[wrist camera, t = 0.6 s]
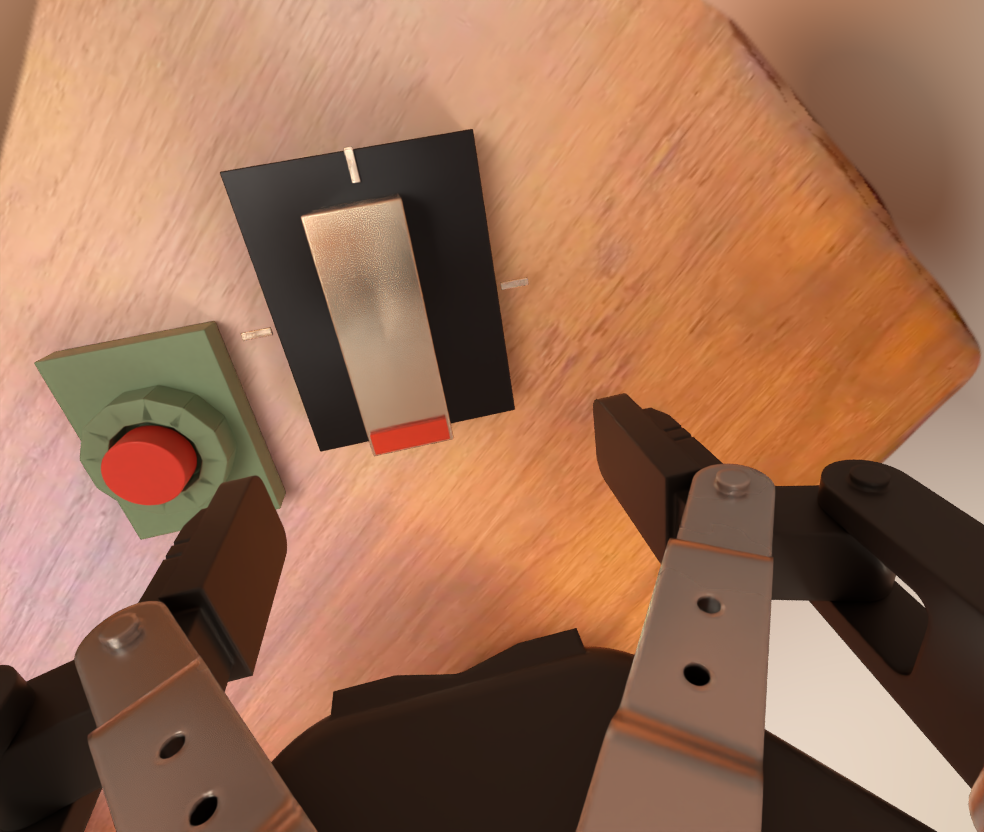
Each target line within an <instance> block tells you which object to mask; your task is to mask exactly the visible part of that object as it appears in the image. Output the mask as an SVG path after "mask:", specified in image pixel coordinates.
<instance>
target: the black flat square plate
mask: <svg viewBox="0 0 984 832" xmlns="http://www.w3.org/2000/svg"><path fill="white" fill-rule="evenodd" d="M220 175H221V177H222V180H223V183H224V186H225V188H226V191H227V194H228V197H229V199H230V202H231V205H232V208H233V211H234V213H235V216H236V219H237V222H238V224H239V227H240V230H241V233H242V236H243V238H244V241H245V244H246V247H247V249H248V252H249V255H250V258H251V261H252V263H253V266H254V269H255V272H256V274H257V277H258V280H259V283H260V285H261V288H262V291H263V294H264V297H265V299H266V302H267V305H268V308H269V310H270V313H271V316H272V319H273V322H274V324H275V327H276V330H277V333H278V335H279V338H280V341H281V344H282V347H283V349H284V352H285V355H286V358H287V360H288V363H289V366H290V369H291V371H292V374H293V377H294V380H295V383H296V385H297V388H298V391H299V394H300V396H301V399H302V402H303V405H304V408H305V410H306V413H307V416H308V419H309V421H310V424H311V427H312V430H313V433H314V435H315V438H316V441H317V444H318V446H319V449H320V451H326V450H330V449H335V448H340V447H344V446H349V445H353V444H358V443H363V442H367V441H369V439H368V436H367V433H366V430H365V426H364V423H363V420H362V417H361V413H360V410H359V407H358V403H357V400H356V397H355V394H354V390H353V387H352V384H351V381H350V377H349V374H348V371H347V368H346V364H345V361H344V358H343V354H342V351H341V348H340V345H339V341H338V338H337V335H336V332H335V328H334V325H333V322H332V319H331V315H330V312H329V309H328V305H327V302H326V299H325V296H324V292H323V289H322V286H321V283H320V279H319V276H318V273H317V270H316V266H315V263H314V260H313V256H312V253H311V250H310V247H309V243H308V240H307V237H306V234H305V230H304V227H303V224H302V221H301V216H303V215H305V214H307V213H309V212H311V211H314V210H316V209H318V208H320V207H322V206H328V205H334V204H339V203H345V202H350V201H356V200H362V199H367V198H373V197H379V196H384V195H390V194H395V193H401V196H402V201H403V206H404V210H405V215H406V219H407V224H408V229H409V233H410V238H411V242H412V247H413V252H414V256H415V261H416V265H417V270H418V275H419V279H420V284H421V288H422V293H423V298H424V302H425V307H426V311H427V316H428V321H429V325H430V330H431V334H432V339H433V343H434V348H435V353H436V357H437V362H438V366H439V371H440V376H441V380H442V385H443V389H444V394H445V399H446V404H447V408H448V413H449V418H450V423H455V422H460V421H464V420H469V419H474V418H478V417H483V416H488V415H492V414H497V413H501V412H506V411H511V410H515V406H514V399H513V393H512V386H511V379H510V373H509V366H508V359H507V353H506V346H505V339H504V333H503V326H502V319H501V313H500V306H499V300H498V293H497V286H496V280H495V273H494V266H493V260H492V253H491V246H490V240H489V233H488V226H487V220H486V213H485V206H484V200H483V193H482V186H481V180H480V173H479V167H478V160H477V153H476V147H475V140H474V133H473V129H469V130H463V131H458V132H452V133H446V134H440V135H434V136H428V137H422V138H416V139H410V140H405V141H399V142H393V143H387V144H381V145H375V146H369V147H363V148H357V149H353V148H352V147H346V148H344V151H340V152H334V153H328V154H322V155H316V156H310V157H304V158H299V159H293V160H287V161H281V162H275V163H269V164H263V165H257V166H251V167H246V168H240V169H234V170H228V171H222V172H220ZM500 285H501V290H504V289H509V288H515V287H520V286H525V285H529V284H528V278H527V277H525V278H520V279H515V280H510V281H505V282H500ZM270 335H273V332H272V330H271V327H269V328H264V329H259V330H254V331H249V332H244V333H241V336H242V339H243V341H245V340H250V339H255V338H260V337H265V336H270Z"/></svg>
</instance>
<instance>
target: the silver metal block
mask: <svg viewBox="0 0 984 832" xmlns="http://www.w3.org/2000/svg"><path fill="white" fill-rule="evenodd" d="M301 221H302V224H303V227H304V230H305V234H306V237H307V240H308V243H309V247H310V250H311V253H312V256H313V260H314V263H315V266H316V270H317V273H318V276H319V279H320V283H321V286H322V289H323V292H324V296H325V299H326V302H327V305H328V309H329V312H330V315H331V319H332V322H333V325H334V328H335V332H336V335H337V338H338V341H339V345H340V348H341V351H342V354H343V358H344V361H345V364H346V368H347V371H348V374H349V377H350V381H351V384H352V387H353V390H354V394H355V397H356V400H357V403H358V407H359V410H360V413H361V417H362V420H363V423H364V426H365V430H366V433H367V436H368V439H369V443H370V446H371V449H372V452H373V455H374V456H378V455H382V454H387V453H392V452H396V451H401V450H405V449H410V448H414V447H419V446H424V445H428V444H433V443H437V442H442V441H446V440H451V439H453V438H454V437H453V432H452V427H451V423H450V418H449V413H448V408H447V404H446V399H445V394H444V389H443V385H442V380H441V376H440V371H439V366H438V362H437V357H436V353H435V348H434V343H433V339H432V334H431V330H430V325H429V321H428V316H427V311H426V307H425V302H424V298H423V293H422V288H421V284H420V279H419V275H418V270H417V265H416V261H415V256H414V252H413V247H412V242H411V238H410V233H409V229H408V224H407V219H406V215H405V210H404V206H403V201H402V196H401V193H395V194H390V195H384V196H379V197H373V198H367V199H362V200H356V201H350V202H345V203H339V204H334V205H328V206H322V207H320V208H318V209H316V210H314V211H311V212H309V213H307V214H305V215H303V216H301Z"/></svg>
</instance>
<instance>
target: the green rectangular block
mask: <svg viewBox="0 0 984 832" xmlns="http://www.w3.org/2000/svg"><path fill="white" fill-rule="evenodd" d="M34 364H35V365H36V367H37V369H38V370H39V372H40V374H41V375H42V377H43V379H44V380H45V382H46V384H47V385H48V387H49V389H50V390H51V392H52V394H53V395H54V397H55V399H56V400H57V402H58V404H59V405H60V407H61V408H62V410H63V412H64V413H65V415H66V417H67V418H68V420H69V422H70V423H71V425H72V427H73V428H74V430H75V432H76V433H77V435H78V437H79V438H80V440H81V450H80V461H81V463H82V464H83V466H84V468H85V469H86V471H87V473H88V474H89V476H90V477H91V479H92V481H93V482H94V484H95V486H96V487H97V488H98V489H99V490H101V491H102V492H104V493H105V494H107V495H109V496H110V497H112V498H113V499H115V500H117V501H118V503H119V505H120V506H121V508H122V510H123V511H124V513H125V515H126V516H127V518H128V519H129V521H130V523H131V524H132V526H133V528H134V529H135V531H136V533H137V534H138V536H139V538H140V539H141V540H142V539H146V538H150V537H155V536H159V535H164V534H168V533H173V532H177V531H181V529H182V528H183V526H184V525H185V524H186V523H187V522H188V521H189V520H190V519H191V518H192V517H194V516H195V515H196V514H197V513H198V512H199V511H200V510H201V509H204V508H207V507H208V505H209V504H210V502H211V500H212V498H213V496H214V494H215V493H216V491H217V489H218V487H219V486H220V484H221V483H223V482H228V481H232V480H236V479H241V478H245V477H250V476H254V475H257V476H259V477H260V478H261V479H262V481H263V483H264V485H265V487H266V489H267V491H268V494H269V496H270V498H271V500H272V503H273V505H274V507H275V509H280V508H281V505H282V502H283V499H284V496H285V494H286V492H285V489H284V487H283V484H282V482H281V480H280V477H279V475H278V472H277V470H276V468H275V465H274V463H273V460H272V458H271V455H270V453H269V451H268V448H267V446H266V443H265V441H264V439H263V436H262V434H261V431H260V429H259V427H258V424H257V422H256V419H255V417H254V414H253V412H252V410H251V407H250V405H249V402H248V400H247V398H246V395H245V393H244V390H243V388H242V385H241V383H240V381H239V378H238V376H237V373H236V371H235V369H234V366H233V364H232V361H231V359H230V356H229V354H228V352H227V349H226V347H225V344H224V342H223V340H222V337H221V335H220V332H219V330H218V328H217V325H216V323H215V321H212V322H207V323H202V324H196V325H191V326H186V327H181V328H176V329H171V330H165V331H160V332H155V333H150V334H145V335H139V336H134V337H129V338H124V339H119V340H113V341H108V342H103V343H98V344H93V345H87V346H82V347H77V348H72V349H67V350H62V351H56V352H54V353H52V354H50V355H48V356H46V357H44V358H42V359H40V360H38V361H36V362H35V363H34ZM149 425H154V426H162V427H166V428H169V429H172V430H174V431H176V432H178V433H179V434H181V435H182V436H184V437H185V438H186V439H187V440H188V441H189V442H190V444H191V445H192V446H193V448H194V450H195V453H196V456H197V466H196V470H195V472H194V474H193V475H192V477H191V478H190V479H189V481H188V482H187V484H186V485H185V487H184V488H183V490H182V491H181V493H180V494H179V495H178V496H177V497H175V498H174V499H172V500H171V501H168V502H166V503H163V504H159V505H140V504H135V503H132V502H129V501H127V500H124V499H123V498H121V497H119V496H118V495H116V494H115V493H114V492H113V491H111V490H110V488H109V487H108V486H107V485H106V483H105V482H104V480H103V477H102V474H101V463H102V459H103V457H104V455H105V454H106V453H107V451H108V450H109V449H110V448H111V447H112V446H113V445H114V444H116V443H117V442H118V441H119V440H120V439H121V438H122V437H123V436H124V435H125V434H126V433H127V432H129V431H131V430H132V429H135V428H137V427H141V426H149Z"/></svg>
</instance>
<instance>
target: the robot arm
mask: <svg viewBox="0 0 984 832" xmlns="http://www.w3.org/2000/svg"><path fill="white" fill-rule="evenodd" d="M593 415H594V429H595V442H596V455H597V461H598V465H599V469H600V472H601V474H602V476H603V478H604V480H605V482H606V483H607V484H608V486H609V487H610V489H611V490H612V492H613V493H614V495H615V496H616V498H617V499H618V501H619V502H620V504H621V505H622V507H623V508H624V510H625V511H626V513H627V514H628V516H629V517H630V519H631V520H632V522H633V523H634V525H635V526H636V528H637V529H638V531H639V532H640V534H641V535H642V537H643V538H644V540H645V541H646V543H647V544H648V546H649V547H650V549H651V550H652V552H653V553H654V554H655V556H656V557H657V559H658V560H659V562H660V563H661V567H660V570H659V574H658V577H657V581H656V584H655V588H654V591H653V594H652V598H651V601H650V605H649V608H648V612H647V615H646V618H645V622H644V625H643V629H642V632H641V636H640V639H639V642H638V646H637V649H636V653H635V655H633V654H630V653H627V652H624V651H619V650H614V649H610V648H601V647H584V646H583V643H582V641H581V638H580V636H579V633H578V631H577V628H575V629H571V630H567V631H563V632H560V633H556V634H552V635H548V636H544V637H540V638H537V639H533V640H529V641H525V642H521V643H518V644H516V645H514V646H512V647H510V648H508V649H507V650H505V651H503V652H501V653H499V654H497V655H495V656H493V657H491V658H489V659H487V660H485V661H484V662H482V663H480V664H478V665H476V666H474V667H472V668H470V669H468V670H466V671H464V672H462V673H458V674H444V675H397V676H391V677H388V678H384V679H380V680H376V681H372V682H368V683H365V684H361V685H357V686H353V687H349V688H345V689H342V690H338V691H334V692H333V701H332V709H331V715H329V716H327V717H326V718H324V719H322V720H321V721H319V722H318V723H316V724H314V725H313V726H311V727H310V728H308V729H307V730H306V731H305V732H303V733H302V734H301V735H299V736H298V737H297V738H296V739H294V740H293V741H292V742H291V743H290V744H289V745H288V746H287V747H286V748H285V749H283V750H282V751H281V752H280V753H279V754H278V756H277V757H276V758H275V759H274V760H273V761H272V762H270V760H269V759H268V757H267V756H266V754H265V753H264V751H263V750H262V748H261V747H260V745H259V744H258V742H257V741H256V739H255V738H254V736H253V735H252V733H251V732H250V730H249V729H248V727H247V726H246V724H245V723H244V721H243V720H242V718H241V717H240V715H239V714H238V712H237V711H236V709H235V707H234V706H233V704H232V703H231V701H230V700H229V698H228V697H227V695H226V694H225V689H226V686H227V683H228V682H229V681H233V680H237V679H241V678H245V677H249V676H253V672H254V668H255V665H256V661H257V658H258V654H259V650H260V647H261V643H262V640H263V636H264V633H265V629H266V625H267V622H268V618H269V615H270V611H271V607H272V604H273V600H274V597H275V593H276V590H277V586H278V582H279V579H280V575H281V572H282V568H283V564H284V561H285V557H286V553H287V539H286V534H285V530H284V527H283V525H282V523H281V521H280V518H279V516H278V514H277V512H276V509H275V507H274V505H273V503H272V500H271V498H270V496H269V494H268V491H267V489H266V487H265V485H264V483H263V481H262V479H261V478H260V477H259V476H257V475H254V476H250V477H245V478H241V479H236V480H232V481H228V482H223V483H221V484H220V486H219V487H218V489H217V491H216V493H215V494H214V496H213V498H212V500H211V502H210V504H209V505H208V507H207V508H204V509H201V510H200V511H199V512H198V513H197V514H196V515H195V516H194V517H192V518H191V519H190V520H189V521H188V522H187V523H186V524H185V525H184V526H183V528H182V529H181V531H180V533H179V534H178V536H177V538H176V539H175V541H174V546H171V548H170V550H169V551H168V553H167V555H166V560H163V562H162V563H161V565H160V567H159V568H158V570H157V572H156V574H155V575H154V577H153V579H152V580H151V582H150V584H149V585H148V587H147V589H146V591H145V592H144V594H143V596H142V597H141V599H140V601H139V602H138V603H137V604H134V605H131V606H129V607H127V608H124V609H122V610H120V611H118V612H117V613H115V614H113V615H111V616H110V617H108V618H107V619H105V620H104V621H103V622H101V623H100V624H99V625H98V626H96V627H95V628H94V629H93V630H92V631H91V632H90V633H89V634H88V635H87V636H86V637H85V638H84V640H83V641H82V642H81V644H80V645H79V647H78V649H77V651H76V653H75V658H74V660H73V661H70V662H68V663H66V664H64V665H62V666H59V667H57V668H55V669H53V670H51V671H48V672H46V673H44V674H42V675H40V676H38V677H35V678H33V679H31V680H29V681H27V682H26V681H25V680H24V679H23V678H22V677H21V675H20V674H19V673H18V672H17V671H16V670H15V669H14V668H13V667H11V666H9V665H0V832H84V830H85V828H86V825H87V823H88V821H89V818H90V816H91V814H92V811H93V809H94V806H95V804H96V802H97V799H98V797H99V794H100V792H101V790H102V788H103V791H104V794H105V798H106V801H107V804H108V807H109V810H110V813H111V816H112V819H113V823H114V826H115V829H116V832H937V831H935V830H934V829H932V828H930V827H928V826H927V825H925V824H923V823H922V822H920V821H918V820H917V819H915V818H913V817H912V816H910V815H908V814H907V813H905V812H903V811H902V810H900V809H898V808H897V807H895V806H893V805H891V804H890V803H888V802H886V801H885V800H883V799H881V798H880V797H878V796H876V795H875V794H873V793H871V792H870V791H868V790H866V789H865V788H863V787H861V786H860V785H858V784H856V783H854V782H853V781H851V780H849V779H848V778H846V777H844V776H843V775H841V774H839V773H838V772H836V771H834V770H833V769H831V768H829V767H827V766H826V765H824V764H823V763H821V762H819V761H817V760H816V759H814V758H812V757H811V756H809V755H807V754H806V753H804V752H802V751H801V750H799V749H797V748H795V747H794V746H792V745H791V744H789V743H787V742H786V741H784V740H782V739H781V738H779V737H777V736H776V735H774V734H772V733H771V732H769V731H767V730H765V709H766V692H767V673H768V654H769V634H770V616H771V600H808V601H810V603H811V604H812V605H813V606H814V607H815V608H816V610H817V611H818V612H819V613H820V614H821V615H822V616H823V618H824V619H825V620H826V621H827V622H828V623H829V625H830V626H831V627H832V628H833V629H834V630H835V632H836V633H837V634H838V635H839V636H840V637H841V638H842V640H844V642H845V643H846V644H847V645H848V647H849V648H850V649H851V650H852V651H853V652H854V653H855V655H856V656H857V657H858V658H859V659H860V660H861V662H862V663H863V664H864V665H865V666H866V667H867V669H869V671H870V672H871V673H872V674H873V676H874V677H875V678H876V679H877V680H878V681H879V682H880V684H881V685H882V686H883V687H884V688H885V689H886V691H887V692H888V693H889V694H890V695H891V696H892V698H893V699H894V700H895V701H896V702H897V703H898V704H899V705H900V707H901V708H902V709H903V710H904V711H905V712H906V714H907V715H908V716H909V717H910V718H911V719H912V721H913V722H914V723H915V724H916V725H917V726H918V727H919V729H920V730H921V731H922V732H923V733H924V735H925V736H926V737H927V738H928V739H929V740H930V741H931V743H932V744H933V745H934V746H935V747H936V748H937V750H938V751H939V752H940V753H941V754H942V755H943V757H944V758H945V759H946V760H947V761H948V762H949V763H950V765H951V766H952V767H953V768H954V769H955V770H956V771H957V773H958V774H959V775H960V776H961V777H962V778H963V779H964V781H965V782H966V783H967V784H968V785H969V787H970V788H971V792H970V795H969V810H970V815H971V818H972V821H973V824H974V826H975V828H976V830H977V832H984V525H983V524H982V523H980V522H979V521H977V520H976V519H974V518H973V517H971V516H969V515H968V514H967V513H965V512H963V511H962V510H960V509H959V508H957V507H956V506H954V505H953V504H951V503H950V502H948V501H947V500H945V499H944V498H942V497H941V496H939V495H937V494H936V493H935V492H933V491H931V490H930V489H928V488H927V487H925V486H924V485H922V484H921V483H919V482H918V481H916V480H915V479H913V478H912V477H910V476H909V475H907V474H905V473H904V472H902V471H900V470H898V469H896V468H894V467H891V466H888V465H885V464H882V463H878V462H873V461H866V460H843V461H838V462H834V463H832V464H829V465H828V466H826V467H825V468H824V469H823V471H822V474H821V480H820V485H816V486H774V484H773V482H772V481H771V479H770V478H769V477H767V476H766V475H765V474H763V473H762V472H760V471H758V470H756V469H753V468H750V467H747V466H743V465H737V464H723V463H722V462H721V461H720V460H718V459H717V458H716V457H715V456H714V455H713V454H712V453H711V452H710V451H709V450H707V449H706V448H705V447H704V446H703V445H702V444H701V443H700V442H699V441H697V440H696V439H695V438H694V437H691V434H690V433H689V432H687V431H686V430H685V429H684V428H681V425H680V424H679V423H677V422H676V421H675V420H674V419H673V418H672V417H671V416H670V415H668V414H665V413H663V412H660V411H658V410H655V409H653V408H647V409H642V408H641V407H639V406H638V405H637V404H636V403H635V402H634V401H633V400H632V399H631V398H630V397H629V396H628V395H627V394H625V393H623V394H619V395H614V396H610V397H605V398H601V399H596V400H595V401H594V403H593ZM896 575H897V576H898V577H899V578H900V579H901V580H902V581H903V582H904V583H906V584H907V585H908V586H909V587H910V588H911V589H912V590H913V591H914V592H916V594H917V595H918V596H919V598H920V599H921V600H922V602H923V604H924V606H925V607H923V606H922V605H921V604H920V603H919V602H918V601H917V600H916V599H915V598H913V597H912V596H911V595H910V594H909V593H908V592H907V591H906V590H904V589H903V588H902V587H901V586H900V585H899V584H898V583H897V582H896V581H895V577H896Z"/></svg>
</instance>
